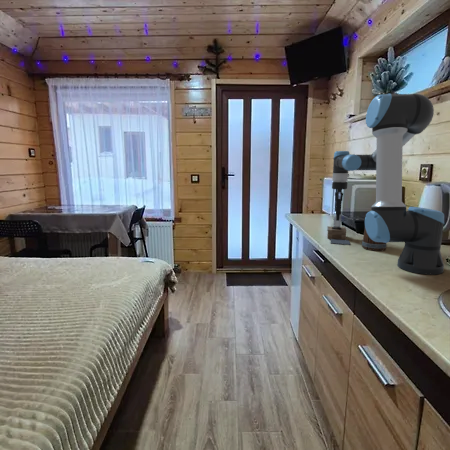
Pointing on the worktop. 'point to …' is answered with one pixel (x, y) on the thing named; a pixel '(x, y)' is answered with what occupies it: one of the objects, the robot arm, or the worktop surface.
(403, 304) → the worktop surface
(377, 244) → the mug
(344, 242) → the mat
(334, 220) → the peg
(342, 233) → the block
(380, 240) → the robot arm
